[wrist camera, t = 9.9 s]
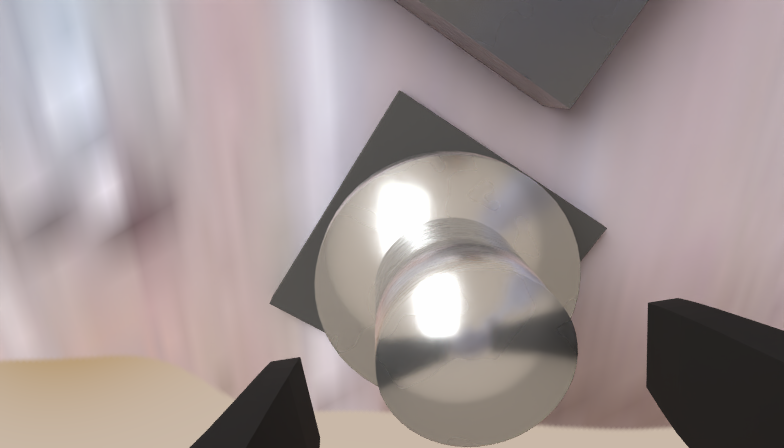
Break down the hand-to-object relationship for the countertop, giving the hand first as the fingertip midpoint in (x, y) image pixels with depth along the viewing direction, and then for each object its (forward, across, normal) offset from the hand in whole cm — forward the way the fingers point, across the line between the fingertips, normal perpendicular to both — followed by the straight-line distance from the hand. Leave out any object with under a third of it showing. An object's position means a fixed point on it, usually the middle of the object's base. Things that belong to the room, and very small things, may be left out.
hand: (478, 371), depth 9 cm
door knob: (+6, 0, 0) cm, 6 cm away
